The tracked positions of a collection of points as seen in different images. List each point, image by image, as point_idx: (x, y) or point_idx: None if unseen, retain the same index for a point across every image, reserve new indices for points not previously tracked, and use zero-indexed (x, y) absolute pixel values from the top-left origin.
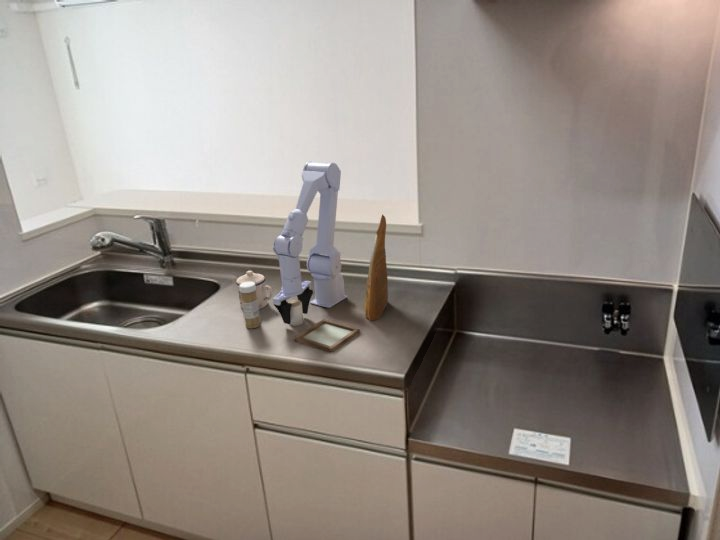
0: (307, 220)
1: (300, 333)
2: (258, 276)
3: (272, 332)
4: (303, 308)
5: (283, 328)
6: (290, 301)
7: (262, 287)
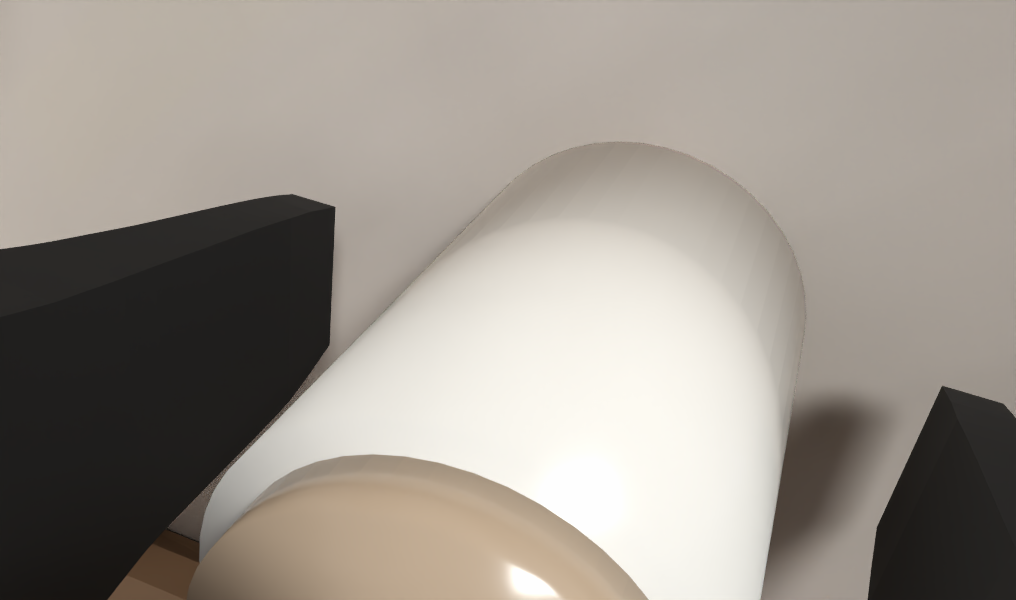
0: None
1: (170, 594)
2: None
3: (84, 26)
4: (909, 574)
5: (299, 162)
6: (411, 593)
7: None
